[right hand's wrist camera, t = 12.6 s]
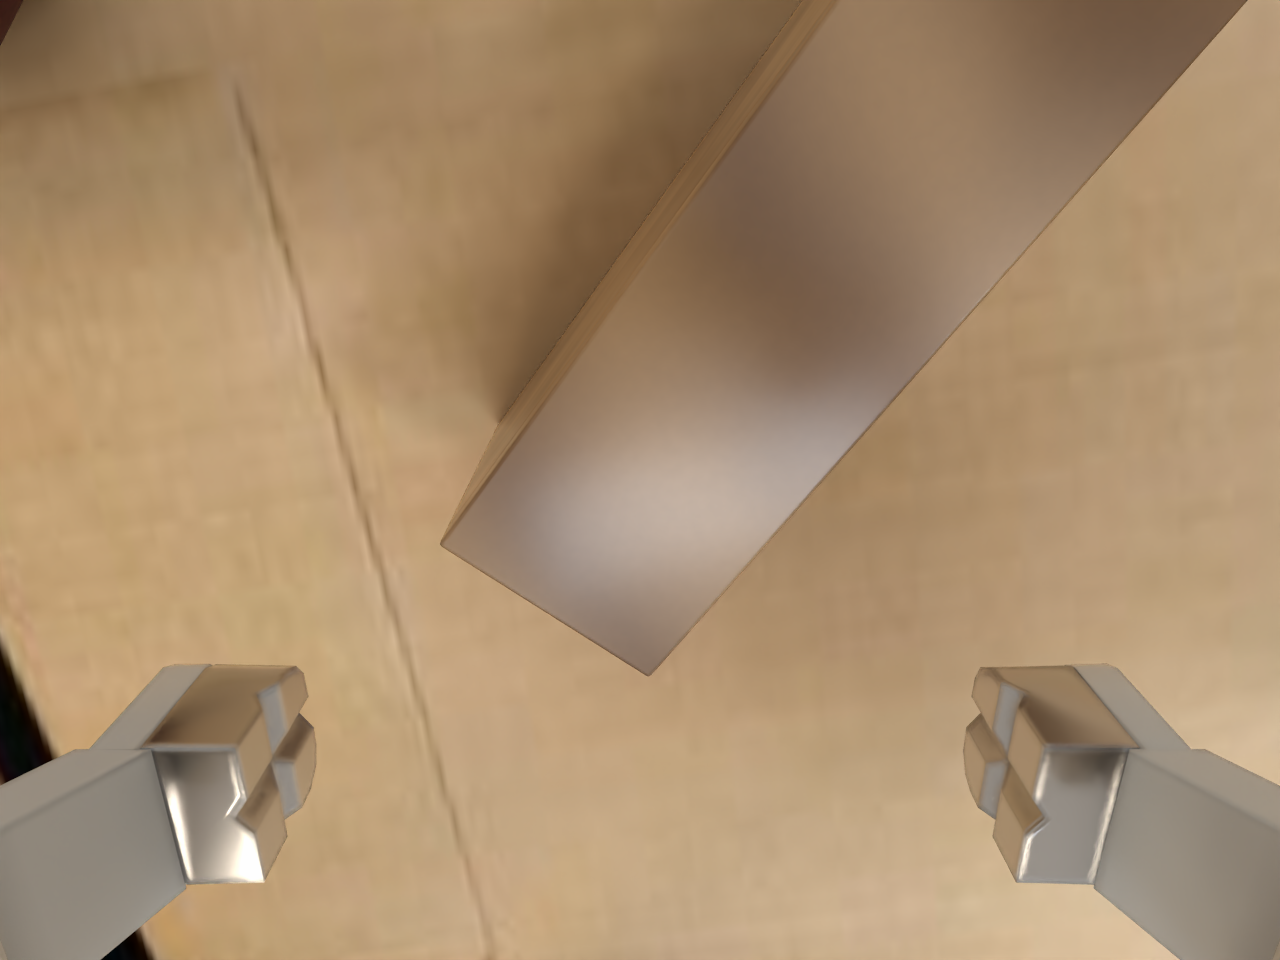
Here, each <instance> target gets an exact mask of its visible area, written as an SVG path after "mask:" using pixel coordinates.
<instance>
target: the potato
mask: <svg viewBox="0 0 1280 960" xmlns="http://www.w3.org/2000/svg"><path fill="white" fill-rule="evenodd" d="M22 1H23V0H0V45H1V43H2V41H3V39H4V37H5V35H6V33H7V31H8V29H9V27H10V25H11V23H12V21H13V19H14V17H15V15H16V13H17V11H18V9H19V7H20V5H21V3H22Z"/></svg>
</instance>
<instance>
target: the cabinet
mask: <svg viewBox="0 0 1280 960" xmlns="http://www.w3.org/2000/svg"><path fill="white" fill-rule="evenodd" d="M1246 1H1247V0H802V2H801V3H800V5H799V6H798V7H797V9H796V10H795V11H794V13H793V14H792V16H791V17H790V18H789V20H788V21H787V23H786V24H785V25H784V27H783V28H782V30H781V31H780V32H779V34H778V35H777V37H776V38H775V39H774V41H773V42H772V44H771V45H770V46H769V48H768V49H767V51H766V52H765V53H764V55H763V56H762V58H761V59H760V60H759V62H758V63H757V64H756V66H755V67H754V69H753V70H752V71H751V73H750V74H749V76H748V77H747V78H746V80H745V81H744V83H743V84H742V85H741V87H740V88H739V90H738V91H737V92H736V94H735V95H734V97H733V98H732V99H731V101H730V102H729V104H728V105H727V106H726V108H725V109H724V111H723V112H722V113H721V115H720V116H719V117H718V119H717V120H716V122H715V123H714V124H713V126H712V127H711V129H710V130H709V131H708V133H707V134H706V136H705V137H704V138H703V140H702V141H701V143H700V144H699V145H698V147H697V148H696V150H695V151H694V152H693V154H692V155H691V157H690V158H689V159H688V161H687V162H686V164H685V165H684V166H683V168H682V169H681V170H680V172H679V173H678V175H677V176H676V177H675V179H674V180H673V182H672V183H671V184H670V186H669V187H668V189H667V190H666V191H665V193H664V194H663V196H662V197H661V198H660V200H659V201H658V203H657V204H656V205H655V207H654V208H653V210H652V211H651V212H650V214H649V215H648V217H647V218H646V219H645V221H644V222H643V223H642V225H641V226H640V228H639V229H638V230H637V232H636V233H635V235H634V236H633V237H632V239H631V240H630V242H629V243H628V244H627V246H626V247H625V249H624V250H623V251H622V253H621V254H620V256H619V257H618V258H617V260H616V261H615V263H614V264H613V265H612V267H611V268H610V270H609V271H608V272H607V274H606V275H605V276H604V278H603V279H602V281H601V282H600V283H599V285H598V286H597V288H596V289H595V290H594V292H593V293H592V295H591V296H590V297H589V299H588V300H587V302H586V303H585V304H584V306H583V307H582V309H581V310H580V311H579V313H578V314H577V316H576V317H575V318H574V320H573V321H572V323H571V324H570V325H569V327H568V328H567V329H566V331H565V332H564V334H563V335H562V336H561V338H560V339H559V341H558V342H557V343H556V345H555V346H554V348H553V349H552V350H551V352H550V353H549V355H548V356H547V357H546V359H545V360H544V362H543V363H542V364H541V366H540V367H539V369H538V370H537V371H536V373H535V374H534V376H533V377H532V378H531V380H530V381H529V382H528V384H527V385H526V387H525V388H524V389H523V391H522V392H521V394H520V395H519V396H518V398H517V399H516V401H515V402H514V403H513V405H512V406H511V408H510V409H509V410H508V412H507V413H506V415H505V416H504V417H503V419H502V420H501V422H500V423H499V424H498V426H497V428H496V430H495V432H494V434H493V436H492V438H491V440H490V442H489V444H488V447H487V449H486V451H485V453H484V455H483V457H482V459H481V461H480V463H479V465H478V467H477V469H476V471H475V473H474V475H473V477H472V479H471V481H470V483H469V485H468V487H467V489H466V491H465V493H464V495H463V497H462V499H461V501H460V503H459V505H458V507H457V509H456V511H455V513H454V515H453V517H452V519H451V521H450V523H449V525H448V528H447V530H446V532H445V534H444V536H443V538H442V540H441V543H440V544H441V546H442V547H443V548H445V549H446V550H448V551H450V552H451V553H453V554H454V555H456V556H458V557H459V558H461V559H462V560H464V561H466V562H467V563H469V564H470V565H472V566H473V567H475V568H477V569H478V570H480V571H481V572H483V573H485V574H486V575H488V576H489V577H491V578H492V579H494V580H496V581H497V582H499V583H500V584H502V585H504V586H505V587H507V588H508V589H510V590H511V591H513V592H515V593H516V594H518V595H519V596H521V597H523V598H524V599H526V600H527V601H529V602H530V603H532V604H534V605H535V606H537V607H538V608H540V609H542V610H543V611H545V612H546V613H548V614H550V615H551V616H553V617H554V618H556V619H557V620H559V621H561V622H562V623H564V624H565V625H567V626H569V627H570V628H572V629H573V630H575V631H576V632H578V633H580V634H581V635H583V636H584V637H586V638H588V639H589V640H591V641H592V642H594V643H595V644H597V645H599V646H600V647H602V648H603V649H605V650H607V651H608V652H610V653H611V654H613V655H615V656H616V657H618V658H619V659H621V660H622V661H624V662H626V663H627V664H629V665H630V666H632V667H634V668H635V669H637V670H638V671H640V672H641V673H643V674H645V675H646V676H651V675H652V673H653V672H654V671H655V670H656V669H657V668H658V667H659V666H660V664H661V663H662V662H663V661H664V660H665V659H666V658H667V656H668V655H669V654H670V653H671V652H672V651H673V650H674V649H675V647H676V646H677V645H678V644H679V643H680V642H681V641H682V640H683V638H684V637H685V636H686V635H687V634H688V633H689V632H690V630H691V629H692V628H693V627H694V626H695V625H696V624H697V623H698V621H699V620H700V619H701V618H702V617H703V616H704V615H705V613H706V612H707V611H708V610H709V609H710V608H711V607H712V606H713V604H714V603H715V602H716V601H717V600H718V599H719V598H720V597H721V595H722V594H723V593H724V592H725V591H726V590H727V589H728V587H729V586H730V585H731V584H732V583H733V582H734V581H735V580H736V578H737V577H738V576H739V575H740V574H741V573H742V572H743V571H744V569H745V568H746V567H747V566H748V565H749V564H750V563H751V561H752V560H753V559H754V558H755V557H756V556H757V555H758V554H759V552H760V551H761V550H762V549H763V548H764V547H765V546H766V544H767V543H768V542H769V541H770V540H771V539H772V538H773V537H774V535H775V534H776V533H777V532H778V531H779V530H780V529H781V528H782V526H783V525H784V524H785V523H786V522H787V521H788V520H789V518H790V517H791V516H792V515H793V514H794V513H795V512H796V511H797V509H798V508H799V507H800V506H801V505H802V504H803V503H804V501H805V500H806V499H807V498H808V497H809V496H810V495H811V494H812V492H813V491H814V490H815V489H816V488H817V487H818V486H819V485H820V483H821V482H822V481H823V480H824V479H825V478H826V477H827V475H828V474H829V473H830V472H831V471H832V470H833V469H834V468H835V466H836V465H837V464H838V463H839V462H840V461H841V460H842V458H843V457H844V456H845V455H846V454H847V453H848V452H849V451H850V449H851V448H852V447H853V446H854V445H855V444H856V443H857V442H858V440H859V439H860V438H861V437H862V436H863V435H864V434H865V432H866V431H867V430H868V429H869V428H870V427H871V426H872V425H873V423H874V422H875V421H876V420H877V419H878V418H879V417H880V416H881V414H882V413H883V412H884V411H885V410H886V409H887V408H888V406H889V405H890V404H891V403H892V402H893V401H894V400H895V399H896V397H897V396H898V395H899V394H900V393H901V392H902V391H903V389H904V388H905V387H906V386H907V385H908V384H909V383H910V382H911V380H912V379H913V378H914V377H915V376H916V375H917V374H918V373H919V371H920V370H921V369H922V368H923V367H924V366H925V365H926V363H927V362H928V361H929V360H930V359H931V358H932V357H933V356H934V354H935V353H936V352H937V351H938V350H939V349H940V348H941V346H942V345H943V344H944V343H945V342H946V341H947V340H948V339H949V337H950V336H951V335H952V334H953V333H954V332H955V331H956V330H957V328H958V327H959V326H960V325H961V324H962V323H963V322H964V320H965V319H966V318H967V317H968V316H969V315H970V314H971V313H972V311H973V310H974V309H975V308H976V307H977V306H978V305H979V304H980V302H981V301H982V300H983V299H984V298H985V297H986V296H987V294H988V293H989V292H990V291H991V290H992V289H993V288H994V287H995V285H996V284H997V283H998V282H999V281H1000V280H1001V279H1002V277H1003V276H1004V275H1005V274H1006V273H1007V272H1008V271H1009V270H1010V268H1011V267H1012V266H1013V265H1014V264H1015V263H1016V262H1017V261H1018V259H1019V258H1020V257H1021V256H1022V255H1023V254H1024V253H1025V251H1026V250H1027V249H1028V248H1029V247H1030V246H1031V245H1032V244H1033V242H1034V241H1035V240H1036V239H1037V238H1038V237H1039V236H1040V234H1041V233H1042V232H1043V231H1044V230H1045V229H1046V228H1047V227H1048V225H1049V224H1050V223H1051V222H1052V221H1053V220H1054V219H1055V218H1056V216H1057V215H1058V214H1059V213H1060V212H1061V211H1062V210H1063V208H1064V207H1065V206H1066V205H1067V204H1068V203H1069V202H1070V201H1071V199H1072V198H1073V197H1074V196H1075V195H1076V194H1077V193H1078V191H1079V190H1080V189H1081V188H1082V187H1083V186H1084V185H1085V184H1086V182H1087V181H1088V180H1089V179H1090V178H1091V177H1092V176H1093V175H1094V173H1095V172H1096V171H1097V170H1098V169H1099V168H1100V167H1101V165H1102V164H1103V163H1104V162H1105V161H1106V160H1107V159H1108V158H1109V156H1110V155H1111V154H1112V153H1113V152H1114V151H1115V150H1116V149H1117V147H1118V146H1119V145H1120V144H1121V143H1122V142H1123V141H1124V139H1125V138H1126V137H1127V136H1128V135H1129V134H1130V133H1131V132H1132V130H1133V129H1134V128H1135V127H1136V126H1137V125H1138V124H1139V122H1140V121H1141V120H1142V119H1143V118H1144V117H1145V116H1146V115H1147V113H1148V112H1149V111H1150V110H1151V109H1152V108H1153V107H1154V106H1155V104H1156V103H1157V102H1158V101H1159V100H1160V99H1161V98H1162V96H1163V95H1164V94H1165V93H1166V92H1167V91H1168V90H1169V89H1170V87H1171V86H1172V85H1173V84H1174V83H1175V82H1176V81H1177V79H1178V78H1179V77H1180V76H1181V75H1182V74H1183V73H1184V72H1185V70H1186V69H1187V68H1188V67H1189V66H1190V65H1191V64H1192V63H1193V61H1194V60H1195V59H1196V58H1197V57H1198V56H1199V55H1200V53H1201V52H1202V51H1203V50H1204V49H1205V48H1206V47H1207V46H1208V44H1209V43H1210V42H1211V41H1212V40H1213V39H1214V38H1215V36H1216V35H1217V34H1218V33H1219V32H1220V31H1221V30H1222V29H1223V27H1224V26H1225V25H1226V24H1227V23H1228V22H1229V21H1230V20H1231V18H1232V17H1233V16H1234V15H1235V14H1236V13H1237V12H1238V10H1239V9H1240V8H1241V7H1242V6H1243V5H1244V4H1245V3H1246Z"/></svg>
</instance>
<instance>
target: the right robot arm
mask: <svg viewBox="0 0 1280 960" xmlns="http://www.w3.org/2000/svg"><path fill="white" fill-rule="evenodd" d="M307 698H308V692H307V688H306V683H305V678H304V673H303V672H302V671H301V670H300V669H299V668H298V667H297V666H272V665H224V664H216V665H211V664H174V665H170V666H167V667H163V668H162V669H161V671H160V672H159V673H158V674H157V675H156V676H155V677H154V678H153V679H152V680H151V681H150V683H149V684H148V685H147V686H146V687H145V688H144V689H143V690H142V691H141V692H140V694H139V695H138V696H137V697H136V698H135V699H134V700H133V701H132V702H131V703H130V705H129V706H128V707H127V708H126V709H125V710H124V711H123V712H122V713H121V714H120V716H119V717H118V718H117V719H116V720H115V721H114V722H113V723H112V724H111V725H110V727H109V728H108V729H107V730H106V731H105V732H104V733H103V734H102V735H101V736H100V738H99V739H98V740H97V741H96V742H95V743H94V744H93V745H92V746H91V747H90V749H75V750H73V751H71V752H69V753H67V754H65V755H62V756H60V757H58V758H56V759H54V760H52V761H50V762H48V763H46V764H44V765H42V766H40V767H38V768H36V769H34V770H32V771H30V772H28V773H26V774H24V775H21V776H19V777H17V778H15V779H13V780H11V781H9V782H7V783H5V784H3V785H1V786H0V960H100V959H102V958H103V957H104V956H105V955H107V954H108V953H109V952H110V951H111V950H113V949H114V948H115V947H116V946H117V945H119V944H120V943H121V942H122V941H123V940H125V939H126V938H127V937H128V936H129V935H131V934H132V933H133V932H134V931H136V930H137V929H138V928H139V927H140V926H142V925H143V924H144V923H145V922H146V921H148V920H149V919H150V918H151V917H152V916H154V915H155V914H156V913H157V912H159V911H160V910H161V909H162V908H163V907H165V906H166V905H167V904H168V903H169V902H171V901H172V900H173V899H174V898H175V897H177V896H178V895H179V894H180V893H182V892H183V891H184V890H185V889H186V884H221V883H255V882H264V881H265V879H266V877H267V875H268V873H269V871H270V869H271V867H272V866H273V864H274V862H275V860H276V858H277V856H278V854H279V852H280V850H281V848H282V846H283V844H284V842H285V840H286V838H287V832H286V826H285V821H284V820H285V819H286V818H288V817H289V816H290V815H292V814H293V813H295V812H296V811H298V810H299V809H300V808H302V806H303V804H304V802H305V800H306V798H307V796H308V794H309V792H310V790H311V786H312V781H313V777H314V772H315V768H316V739H315V733H314V727H313V726H312V725H311V724H310V723H309V722H308V721H307V720H306V719H305V718H304V717H303V716H302V715H301V714H300V713H299V712H300V710H301V708H302V707H303V705H304V703H305V701H306V700H307ZM972 698H973V700H974V701H975V703H976V705H977V707H978V708H979V710H980V712H981V713H980V714H979V715H978V716H977V717H976V718H975V719H974V720H973V721H972V722H971V723H970V724H969V725H968V726H967V727H966V734H965V742H964V749H963V754H964V765H965V775H966V778H967V782H968V785H969V789H970V792H971V794H972V796H973V798H974V800H975V802H976V804H977V806H978V808H980V809H981V810H982V811H984V812H985V813H987V814H988V815H990V816H991V817H992V818H994V819H995V820H996V821H995V826H994V832H993V838H994V840H995V842H996V844H997V846H998V848H999V850H1000V852H1001V854H1002V856H1003V858H1004V860H1005V862H1006V863H1007V865H1008V867H1009V869H1010V871H1011V873H1012V875H1013V877H1014V879H1015V881H1016V882H1022V883H1058V884H1094V889H1095V890H1096V891H1098V892H1099V893H1100V894H1101V895H1103V896H1104V897H1105V898H1106V899H1107V900H1109V901H1110V902H1111V903H1112V904H1113V905H1115V906H1116V907H1117V908H1118V909H1119V910H1121V911H1122V912H1123V913H1124V914H1125V915H1127V916H1128V917H1129V918H1130V919H1131V920H1133V921H1134V922H1135V923H1136V924H1138V925H1139V926H1140V927H1141V928H1142V929H1144V930H1145V931H1146V932H1147V933H1148V934H1150V935H1151V936H1152V937H1153V938H1154V939H1156V940H1157V941H1158V942H1159V943H1160V944H1162V945H1163V946H1164V947H1165V948H1166V949H1168V950H1169V951H1170V952H1171V953H1173V954H1174V955H1175V956H1176V957H1177V958H1179V959H1180V960H1280V786H1279V785H1277V784H1275V783H1273V782H1271V781H1269V780H1267V779H1265V778H1262V777H1260V776H1258V775H1256V774H1254V773H1252V772H1250V771H1248V770H1246V769H1244V768H1242V767H1240V766H1238V765H1236V764H1234V763H1232V762H1230V761H1228V760H1226V759H1224V758H1222V757H1220V756H1217V755H1215V754H1213V753H1211V752H1209V751H1207V750H1205V749H1190V747H1189V746H1188V745H1187V744H1186V743H1185V742H1184V741H1183V740H1182V739H1181V738H1180V736H1179V735H1178V734H1177V733H1176V732H1175V731H1174V730H1173V729H1172V728H1171V727H1170V725H1169V724H1168V723H1167V722H1166V721H1165V720H1164V719H1163V718H1162V717H1161V716H1160V714H1159V713H1158V712H1157V711H1156V710H1155V709H1154V708H1153V707H1152V706H1151V705H1150V703H1149V702H1148V701H1147V700H1146V699H1145V698H1144V697H1143V696H1142V695H1141V694H1140V692H1139V691H1138V690H1137V689H1136V688H1135V687H1134V686H1133V685H1132V684H1131V683H1130V681H1129V680H1128V679H1127V678H1126V677H1125V676H1124V675H1123V674H1122V673H1121V672H1120V670H1119V669H1118V668H1116V667H1113V666H1111V665H1109V664H1079V665H1065V666H1020V667H980V669H979V671H978V673H977V675H976V677H975V681H974V686H973V692H972Z"/></svg>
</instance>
